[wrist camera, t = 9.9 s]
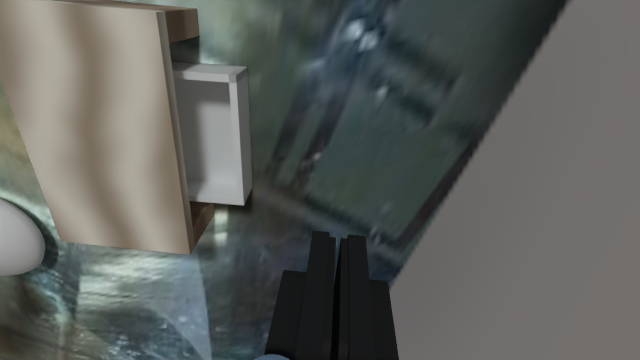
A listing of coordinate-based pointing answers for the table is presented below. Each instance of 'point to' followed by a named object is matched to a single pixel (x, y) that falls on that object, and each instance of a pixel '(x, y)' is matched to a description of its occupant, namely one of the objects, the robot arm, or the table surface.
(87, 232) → the tan slab
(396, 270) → the table surface
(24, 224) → the flower in vase
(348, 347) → the robot arm
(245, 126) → the white open tray
